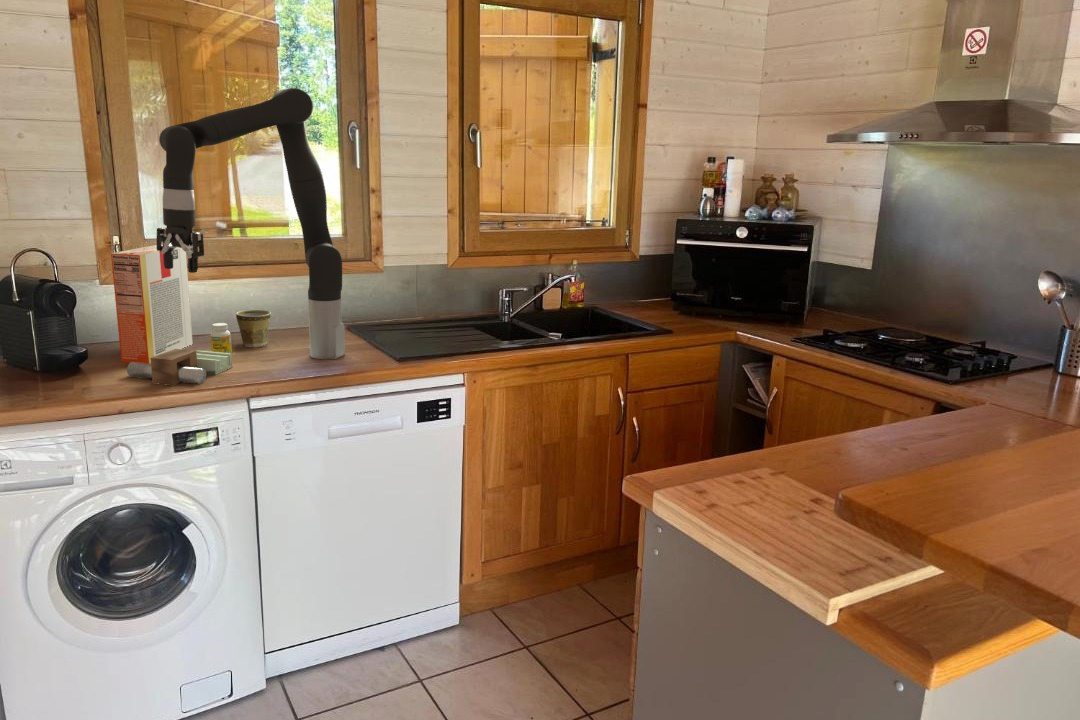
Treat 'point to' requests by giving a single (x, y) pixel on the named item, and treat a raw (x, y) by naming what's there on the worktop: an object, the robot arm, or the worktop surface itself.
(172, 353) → the brown arch block
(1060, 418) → the worktop surface
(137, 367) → the axle
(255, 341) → the ceramic cup
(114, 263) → the pasta box
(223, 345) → the supplement bottle
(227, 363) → the light green ridged block
